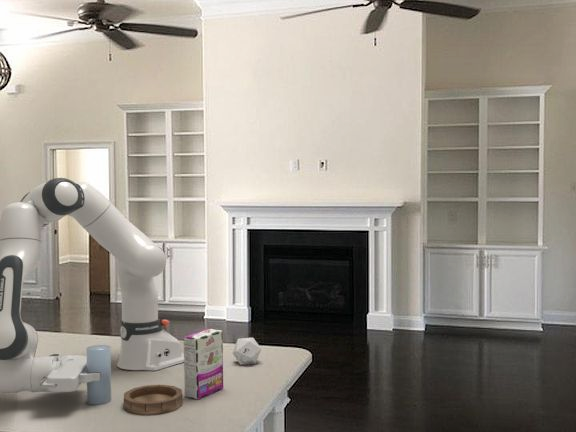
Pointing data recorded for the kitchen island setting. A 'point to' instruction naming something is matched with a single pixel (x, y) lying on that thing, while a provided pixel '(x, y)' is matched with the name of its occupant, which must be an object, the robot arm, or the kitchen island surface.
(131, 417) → the kitchen island surface
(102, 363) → the pale blue cylinder
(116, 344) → the kitchen island surface
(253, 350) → the die
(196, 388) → the candy bar box
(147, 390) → the tray
